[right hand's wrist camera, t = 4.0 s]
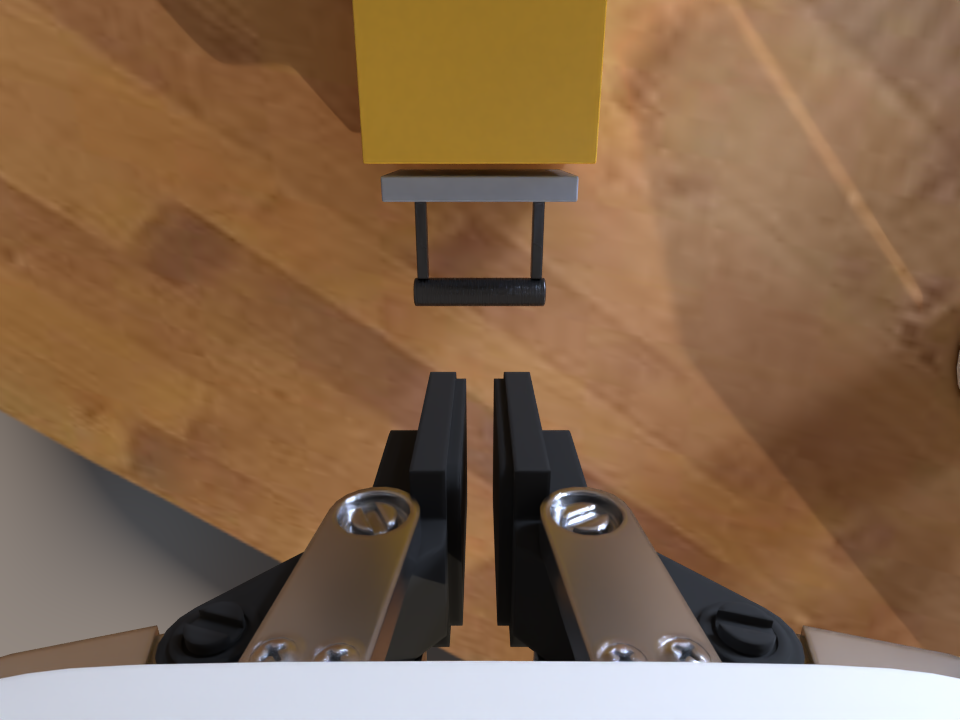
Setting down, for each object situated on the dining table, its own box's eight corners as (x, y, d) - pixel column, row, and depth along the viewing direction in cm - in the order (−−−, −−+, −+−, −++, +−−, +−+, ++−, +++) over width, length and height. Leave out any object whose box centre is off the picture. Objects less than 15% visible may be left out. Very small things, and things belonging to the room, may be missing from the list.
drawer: (555, 289, 37) (570, 319, 30) (404, 289, 37) (388, 319, 30) (578, -203, 28) (606, -301, 22) (381, -203, 28) (352, -301, 22)
